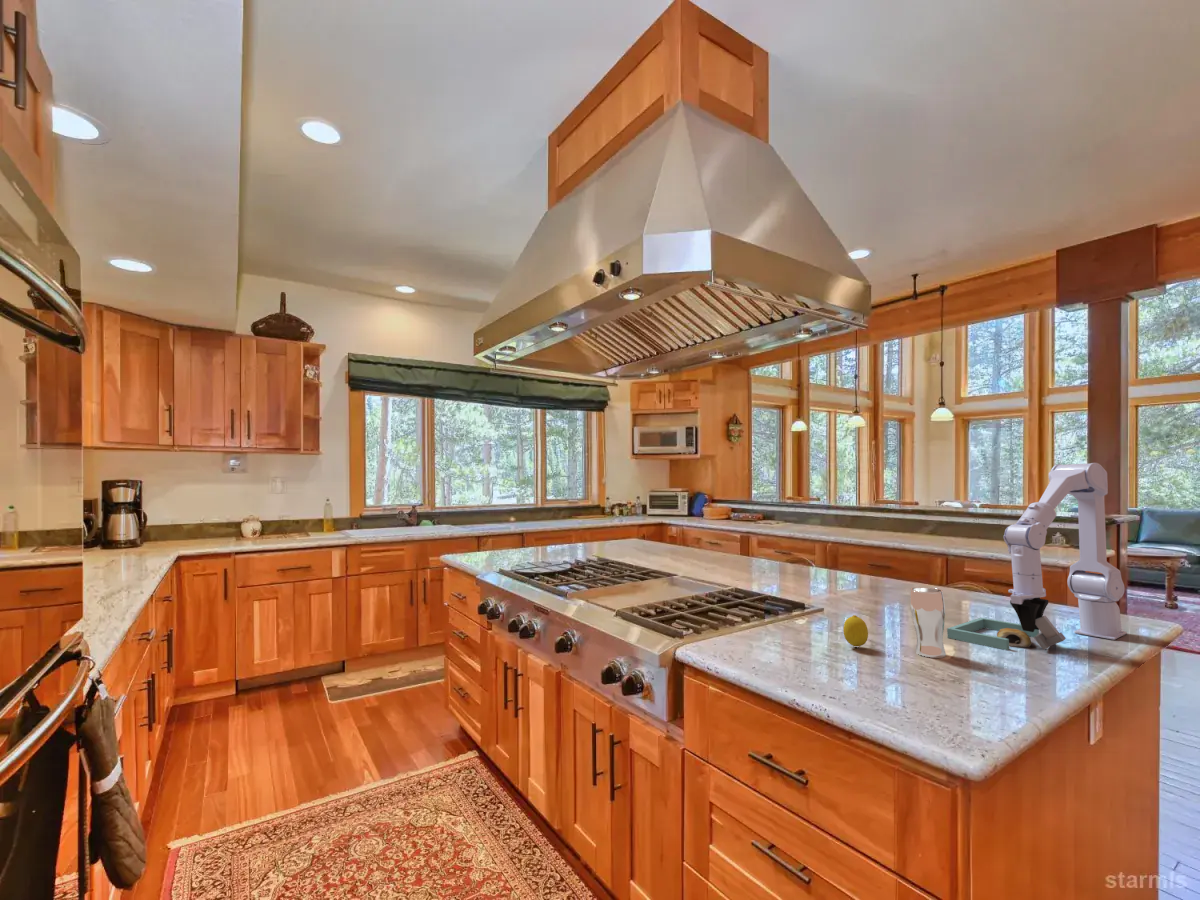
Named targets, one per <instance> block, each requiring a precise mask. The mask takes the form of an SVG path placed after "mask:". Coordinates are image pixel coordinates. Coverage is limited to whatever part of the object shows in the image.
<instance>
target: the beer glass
mask: <svg viewBox="0 0 1200 900" xmlns="http://www.w3.org/2000/svg"><path fill="white" fill-rule="evenodd" d="M943 592H944V591H943V590H942V589H940V588H936V587H930V586H929V587H928V586H927V587H926V586H918V587H917V586H916V587H911V588H910V612H911V618H912V621H913V624H914V625H913V626H914V630H915V633H916V646H915V654H916V655H918V654H919V655H918V656H920V655H922V656H921V657H924V656H925V658H929V657H930V659H943V658H946V656H947V655H946V654H947V653H946V649H945V647H944V637H943V636H944V630H945V629H944V628H945V622H946V606H945V598H944V593H943Z"/></svg>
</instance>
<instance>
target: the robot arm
mask: <svg viewBox="0 0 1200 900" xmlns="http://www.w3.org/2000/svg"><path fill="white" fill-rule="evenodd" d="M1048 480H1049V483H1048V485H1046V486H1047V487H1046V488H1045V490H1044V492H1043V493H1042V495H1041V497H1040V499H1038V501H1036V502H1032V503H1030V504H1029V505H1028V506H1027V508H1026V509H1025V511H1024V512H1023V513H1022V515H1021V516H1020V518H1019V519H1018V520H1017V521H1016V522H1015V523H1013V524H1010V525H1009V526H1007V527H1006V528H1005V530H1004V533H1003V534H1004V535H1003V541H1004V542H1005V544H1006V546H1007V552H1008V553H1009V554H1010V558H1011V571H1012V572H1011V573H1012V582H1013V583H1012V584H1013V588H1010V589H1008V593H1010V594H1011V595H1010V601H1009V603H1010V605H1011V607H1012V608H1013V609H1014V611H1015V613H1016V615H1017V619H1018V620H1019V624H1021V626H1022V629H1023V630H1024V631H1029V632H1034V630H1035V629H1036V630H1039V628H1038V627H1037V626H1036V625H1035V622H1036V619H1038V618H1040V617H1043V616H1044V612H1045V610H1046V608H1047V606H1048V605H1049V600H1048V599H1043V598H1045V597H1047V592H1046V591H1047V590H1046V588H1044V586H1043V585H1044V583H1043V573H1042V562H1041V561H1042V560H1041V548H1042V547H1044V546H1045V543H1046V536H1047V535H1048V531H1047V530H1048V528H1049V527H1050V526H1051V524H1052V522H1053V521H1054V520H1055V519H1056V517H1057V511H1055V509H1056V508H1057V507H1058V506H1059V504H1060V503H1061V502H1062V501H1063V500H1064V499H1065V498H1066V497H1067V495H1069V496H1070V495H1071V496H1073V498H1075V499H1076V500H1077V508H1078V509H1077V512H1078V513H1077V514H1078V515H1077V516H1078V543H1079V560H1077V561H1076V562H1074V563H1073V564H1071V565H1070V566H1069V574H1068V577H1067V580H1066V581H1067V587H1068V590H1069V591H1070V592H1071V594H1074V597H1075V598H1077V600H1078V611H1079V612H1078V613H1079V615H1078V616H1079V625H1080V628H1079V629H1076V630H1074V631H1073V632H1074V634H1078V635H1083V636H1090V637H1096V638H1102V639H1107V640H1117V639H1119V638H1121V637H1122V636H1123V637H1124V636H1125V635H1127V634H1128V633H1127V631H1125V630H1122V623H1121V622H1122V621H1121V609H1120V607H1119V605H1118V603H1117V602H1119V601H1120V599H1122V598H1123V596H1124V594H1125V584H1124V581H1123V579H1122V573H1121V570H1120V569H1118V568H1117V567H1115V566H1114V565H1113V564H1112V563H1110V562H1108V561H1107V559H1108V558H1107V533H1106V505H1105V496H1107V495H1108V493H1109V490H1108V489H1109V487H1108V486H1109V485H1108V484H1109V483H1108V471H1107V470H1105V468H1104V467H1103V466H1102V465H1101V464H1100V463H1098V462H1091V463H1069V464H1060V463H1058V464H1055V465H1053V467H1052V468H1051V469H1050V471H1049V472H1048ZM1039 631H1040V630H1039Z"/></svg>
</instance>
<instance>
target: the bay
mask: <svg viewBox="0 0 1200 900" xmlns="http://www.w3.org/2000/svg"><path fill="white" fill-rule="evenodd" d="M982 628H983V629H987V628H988V629H987V630H992V629H993V630H994V631H997V632H999V630H1000V629H1004V628H1011V629H1018V630H1020V631H1023V632H1025V633H1026V634H1027V635H1028V636H1029V637H1030V638H1031V637H1032V638H1034V637H1035V636H1036V635H1038V634H1039V633H1040V630H1036V629H1035V630H1034V632H1029V631H1024V630H1023V629H1022V626H1021V623H1015V622H1009V621H1005V620H1003V621H1002V620H997V619H991V618H984V617H979V618H978V617H977V618H975V619H972V620H969V621H966V622H963V623H960V624H957V625H954V626H949V627H947V628H946V632H947V633H946V634H947V635H946V636H947V639H950V638H951V640H955V639H956V641H960V642H966V643H971V644H975V645H980V646H984V645H985V647H990V648H994V649H999V650H1004V651H1008V650H1010V646H1009V639H1006V638H1001V637H997V635H990V634H984V633H979V632H977V631H980V630H983V629H982ZM979 629H980V630H979Z"/></svg>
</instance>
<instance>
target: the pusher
mask: <svg viewBox="0 0 1200 900" xmlns="http://www.w3.org/2000/svg"><path fill="white" fill-rule="evenodd" d="M1035 625H1036V626H1037V627H1038V628H1039V634H1038V635H1036V636H1035V637H1033V638H1034V640H1035V642H1037V644H1038V645H1039V646H1040V647H1041V649H1042V650H1043V651H1044V650H1047V649H1049V648H1050V647H1051V646H1054V645H1056V644H1059V643H1062V642H1064V641H1065V640H1066V639H1067V638H1066V637H1065V635H1064V634H1063V633H1062V632H1059V630H1058V629H1057V628H1056V627H1055V625H1054V624H1053V623H1052V622H1051V621H1050V619H1049V617H1047V616H1046V615H1043V616H1042V617H1040V618H1038V619H1036V622H1035Z"/></svg>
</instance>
